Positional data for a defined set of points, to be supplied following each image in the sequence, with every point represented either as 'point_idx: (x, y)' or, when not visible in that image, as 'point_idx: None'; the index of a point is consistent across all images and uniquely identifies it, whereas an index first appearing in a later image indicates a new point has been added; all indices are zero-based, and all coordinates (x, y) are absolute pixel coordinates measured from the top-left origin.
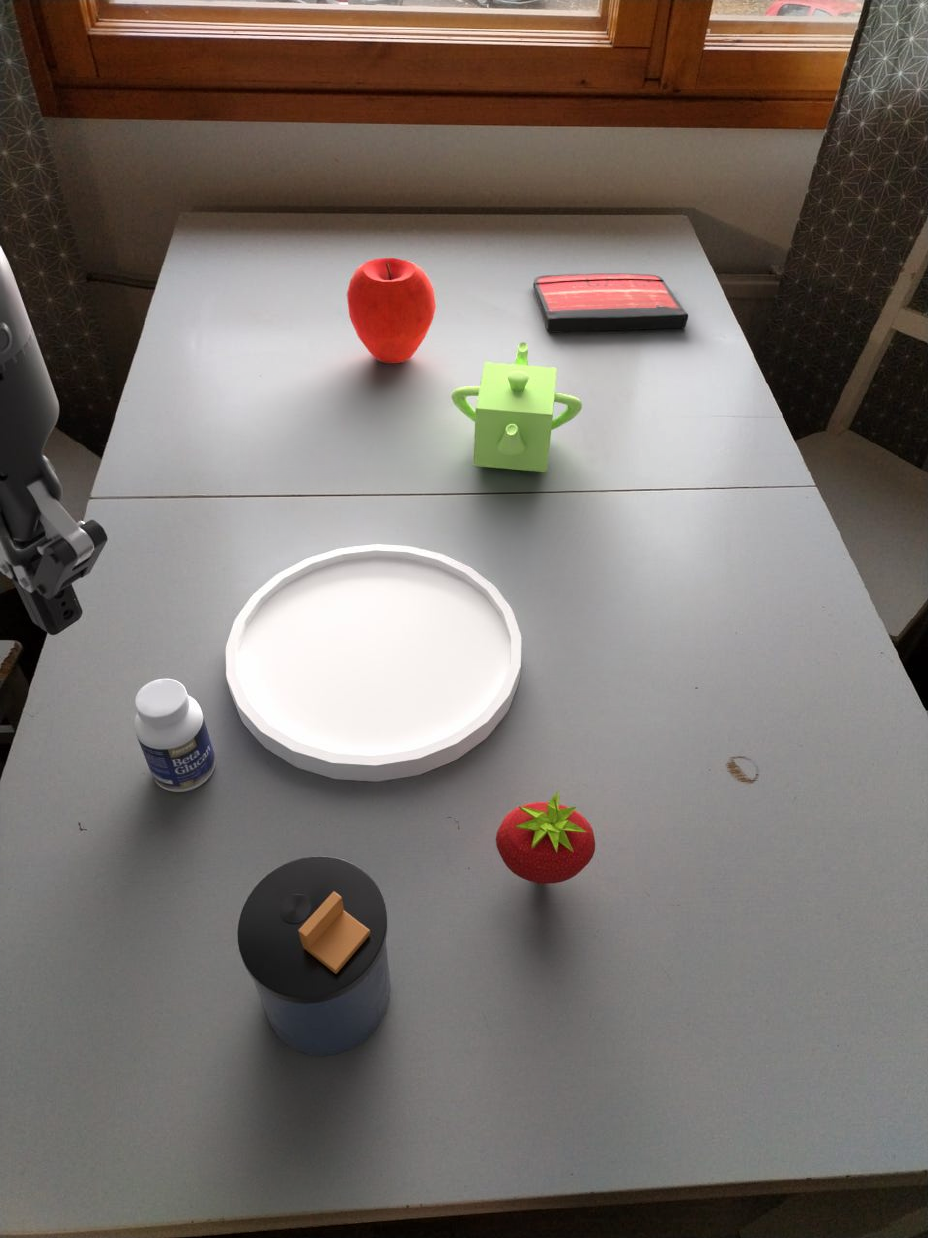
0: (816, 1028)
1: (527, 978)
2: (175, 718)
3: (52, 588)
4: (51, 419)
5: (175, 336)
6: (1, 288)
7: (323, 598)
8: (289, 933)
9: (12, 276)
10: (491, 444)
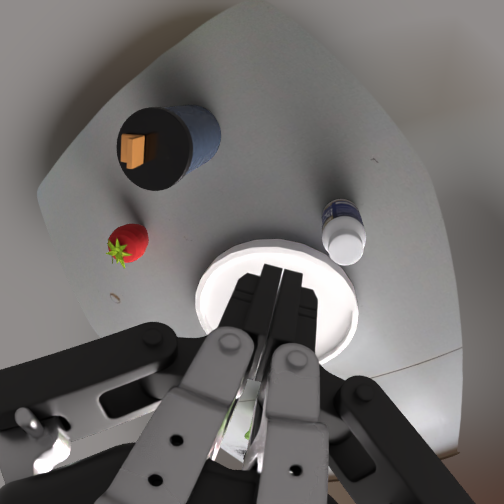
0: (59, 215)
1: (125, 184)
2: (330, 239)
3: (91, 343)
4: None
5: (451, 419)
6: None
7: (319, 336)
8: (156, 138)
9: None
10: None
